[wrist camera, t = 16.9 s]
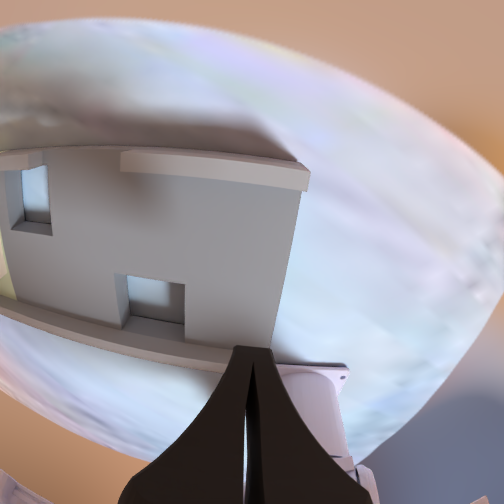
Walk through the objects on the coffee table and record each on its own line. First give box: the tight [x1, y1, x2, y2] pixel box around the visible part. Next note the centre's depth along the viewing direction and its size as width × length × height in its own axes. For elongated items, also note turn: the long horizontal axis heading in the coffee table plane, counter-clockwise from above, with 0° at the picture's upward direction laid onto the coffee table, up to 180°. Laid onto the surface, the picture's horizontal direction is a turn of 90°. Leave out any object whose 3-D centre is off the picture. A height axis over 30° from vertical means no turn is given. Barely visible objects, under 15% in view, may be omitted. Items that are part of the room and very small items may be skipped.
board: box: [0, 146, 311, 373], centre depth 17 cm, size 14×28×4 cm, turn 83°
